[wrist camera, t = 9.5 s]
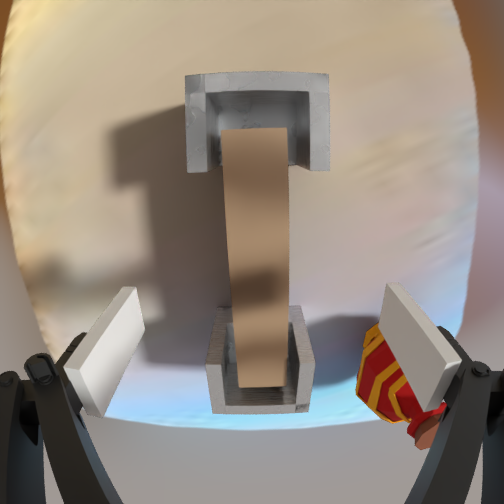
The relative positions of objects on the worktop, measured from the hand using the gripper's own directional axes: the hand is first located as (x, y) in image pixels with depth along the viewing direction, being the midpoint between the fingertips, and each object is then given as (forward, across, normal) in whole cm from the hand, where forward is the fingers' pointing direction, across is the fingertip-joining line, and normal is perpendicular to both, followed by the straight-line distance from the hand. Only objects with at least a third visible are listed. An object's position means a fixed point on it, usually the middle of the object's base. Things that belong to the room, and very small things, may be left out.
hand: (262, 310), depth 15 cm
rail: (+10, 0, -1) cm, 11 cm away
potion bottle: (+13, +14, -13) cm, 23 cm away
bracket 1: (+14, 0, +9) cm, 17 cm away
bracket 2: (+13, 0, -11) cm, 17 cm away
